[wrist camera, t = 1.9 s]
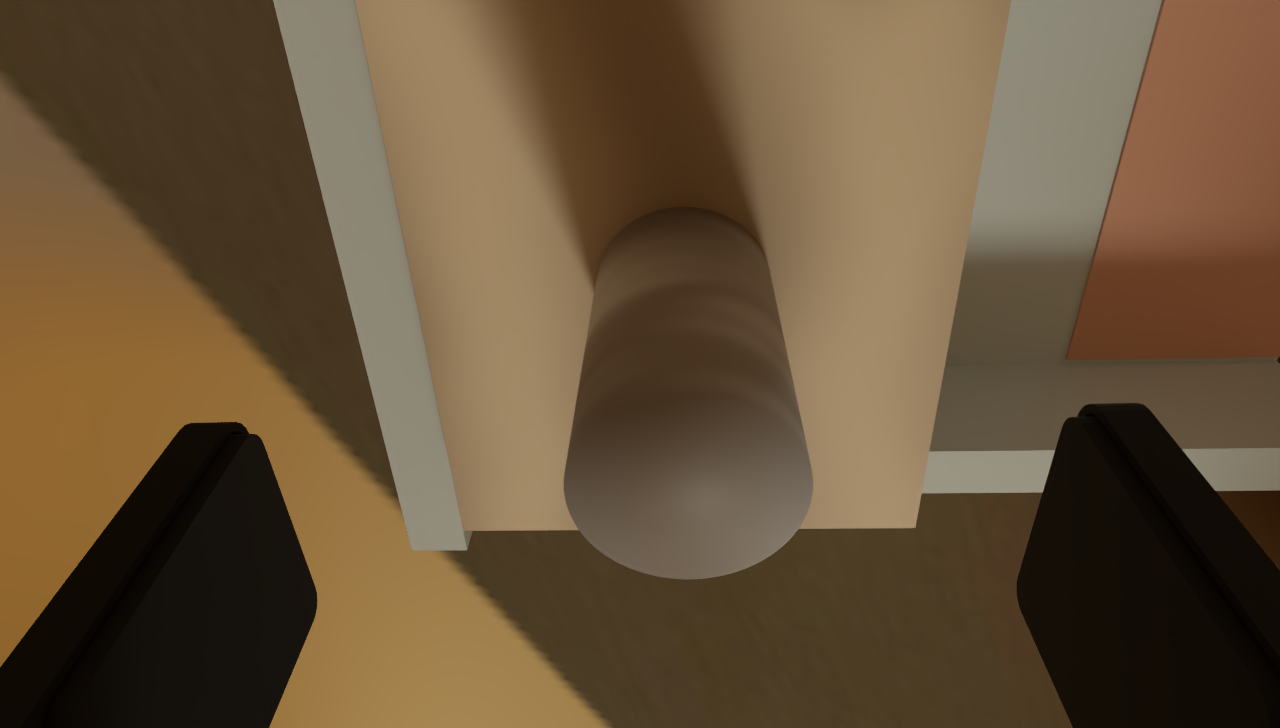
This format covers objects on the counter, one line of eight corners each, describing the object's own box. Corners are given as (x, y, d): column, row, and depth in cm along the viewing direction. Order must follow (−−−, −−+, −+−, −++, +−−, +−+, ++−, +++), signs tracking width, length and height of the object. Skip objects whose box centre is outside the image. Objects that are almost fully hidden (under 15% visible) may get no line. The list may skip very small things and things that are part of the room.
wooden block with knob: (912, -123, 18) (1250, -33, 8) (857, 357, 25) (996, 767, 14) (446, -102, 19) (146, 8, 8) (512, 362, 25) (394, 763, 14)
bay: (1504, -263, 18) (1921, -302, 12) (1241, 381, 26) (1404, 545, 20) (360, -207, 19) (218, -217, 13) (468, 392, 27) (412, 550, 22)
